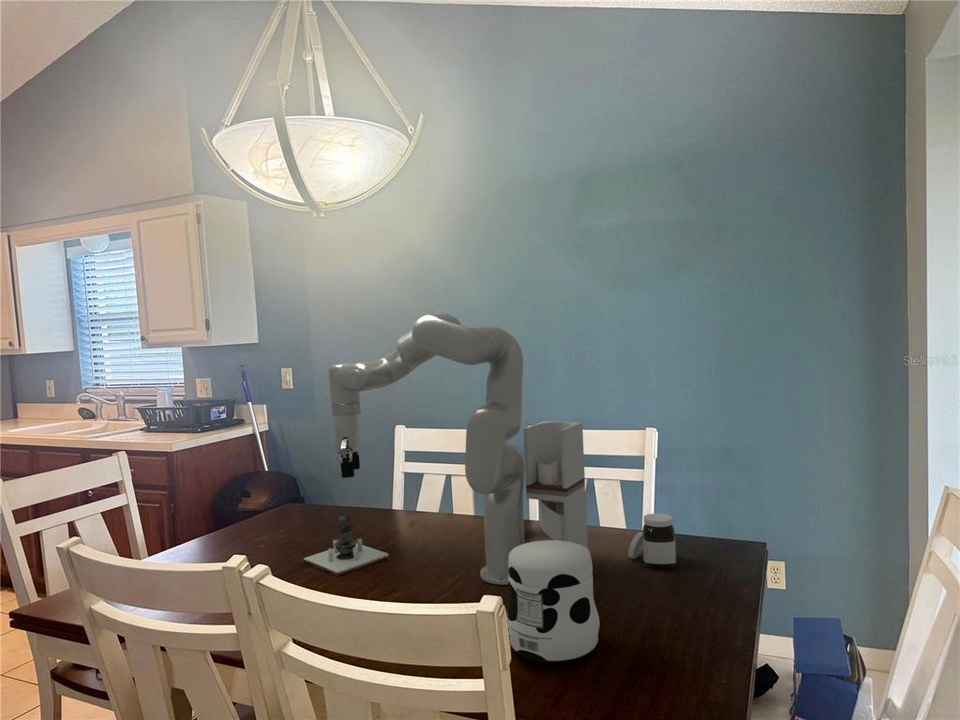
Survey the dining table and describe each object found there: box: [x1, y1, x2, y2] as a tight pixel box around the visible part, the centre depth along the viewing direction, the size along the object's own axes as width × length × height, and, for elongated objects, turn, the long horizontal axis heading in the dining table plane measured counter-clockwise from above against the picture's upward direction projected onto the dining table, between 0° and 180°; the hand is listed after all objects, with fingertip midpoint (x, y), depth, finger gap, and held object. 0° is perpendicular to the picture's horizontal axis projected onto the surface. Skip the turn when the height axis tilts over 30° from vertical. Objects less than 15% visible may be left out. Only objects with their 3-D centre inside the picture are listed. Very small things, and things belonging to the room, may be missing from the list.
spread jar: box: [627, 512, 677, 570], centre depth 165 cm, size 12×11×12 cm
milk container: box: [506, 539, 601, 664], centre depth 125 cm, size 17×17×18 cm
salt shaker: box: [335, 511, 358, 560], centre depth 177 cm, size 6×6×12 cm
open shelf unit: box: [522, 420, 589, 550], centre depth 166 cm, size 11×11×35 cm
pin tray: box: [303, 538, 390, 573], centre depth 178 cm, size 16×16×4 cm
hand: (351, 473), depth 180 cm, fingers open, 9 cm apart
